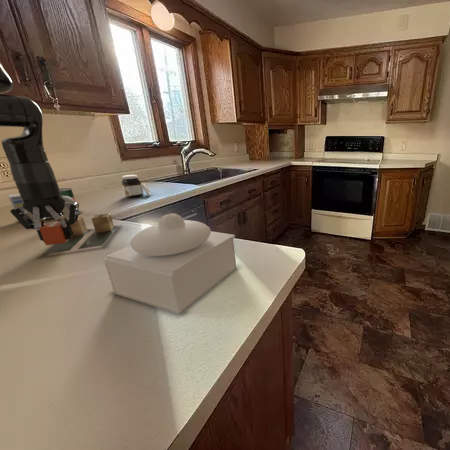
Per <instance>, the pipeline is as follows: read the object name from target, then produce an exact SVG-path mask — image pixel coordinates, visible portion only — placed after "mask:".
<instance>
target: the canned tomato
mask: <svg viewBox="0 0 450 450" xmlns="http://www.w3.org/2000/svg"><path fill="white" fill-rule="evenodd" d="M59 189H60V192H61V196H69V197H71V198H72V199H74V201H75V202H77V200H76V197H75V195H74V191H73V190H72V189H73V188H71V187H62V188H59ZM80 214H81V212H80V209H78V216H80Z"/></svg>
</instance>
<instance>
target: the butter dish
mask: <svg viewBox="0 0 450 450" xmlns="http://www.w3.org/2000/svg"><path fill="white" fill-rule="evenodd" d="M234 239H236V235H235V234H231V233H225V232H219V231H212V230H211V228H210V226H209V225H207V224H205V223H204V222H201V221H197V220H189V219H183V217H182V216H181V215H179V214H178V213H167V214H164V215H162V216H161V217H160V218H159V220H158V223H156V224H153V225H151V226H148V227H146V228H144V229H142V230H140V231H139V232H138V233H136V234H135V235H134V236H133V237H132V239H130V244H129V245H128V246H126V247H124V248H121V249H119V250H116V251H114V252H111V253H109V254H107V255H105V256H106V258H104V259H103V263H104V266H105V269H106V272H107V275H108V278H109V281H110V284H111V287H112V290H113V293H114V295H118V296H120V297H125V298H127V299H130V300H133V301H137V302H140V303H142V304H146V305H149V306H153V307H155V308H158V309H162V310H165V311H168V312H171V313H174V314H177V315H180V314H181V313H182V312H184V310H186V309H187V308H189V307H190V306H191V305H192V304H194V303H195V302H196V301H197V300H198V299H200V298H201V297H202V296H203V295H205V294H206V293H207V292H208V291H210V290H211V289H212V288H213V287H214V286H216V285H217V284H218V283H220V282H221V281H222V280H223V279H224V278H227V276H228V275H229V274H231V273H232V272H233V271H235V270H236V269H237V262H236V254H235V245H234V244H235V243H234Z"/></svg>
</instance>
